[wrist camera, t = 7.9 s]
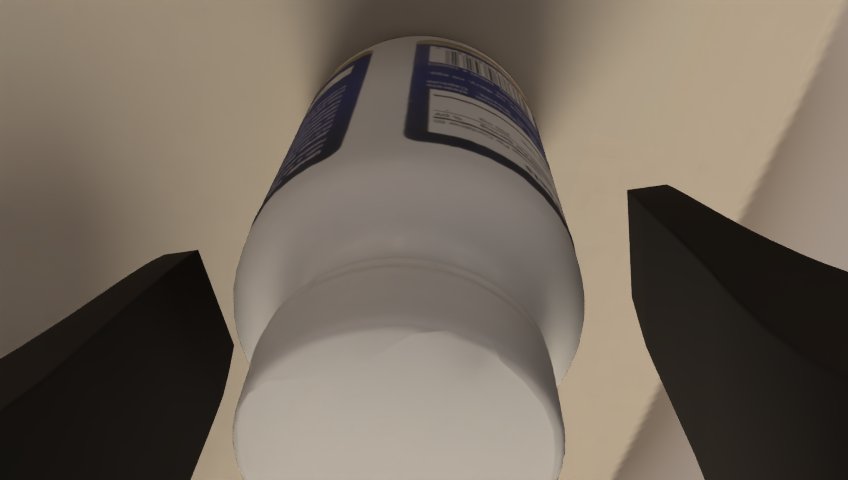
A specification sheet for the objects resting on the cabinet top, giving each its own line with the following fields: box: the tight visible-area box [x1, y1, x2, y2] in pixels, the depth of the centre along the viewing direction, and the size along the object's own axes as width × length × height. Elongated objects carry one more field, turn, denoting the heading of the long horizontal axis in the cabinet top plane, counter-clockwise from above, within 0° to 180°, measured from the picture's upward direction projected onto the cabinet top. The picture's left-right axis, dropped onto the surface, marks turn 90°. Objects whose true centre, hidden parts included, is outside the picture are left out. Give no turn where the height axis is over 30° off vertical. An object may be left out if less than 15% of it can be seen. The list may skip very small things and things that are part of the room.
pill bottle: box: [233, 36, 584, 480], centre depth 13 cm, size 5×5×10 cm
